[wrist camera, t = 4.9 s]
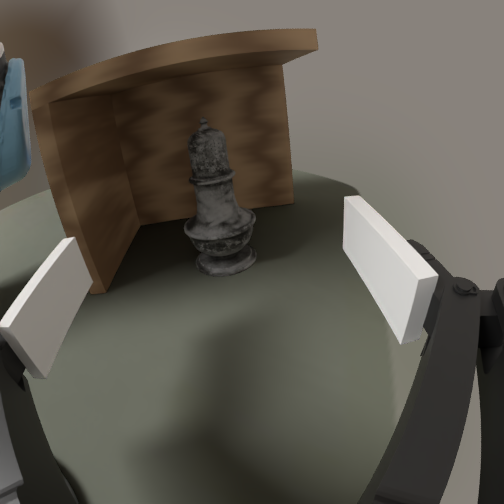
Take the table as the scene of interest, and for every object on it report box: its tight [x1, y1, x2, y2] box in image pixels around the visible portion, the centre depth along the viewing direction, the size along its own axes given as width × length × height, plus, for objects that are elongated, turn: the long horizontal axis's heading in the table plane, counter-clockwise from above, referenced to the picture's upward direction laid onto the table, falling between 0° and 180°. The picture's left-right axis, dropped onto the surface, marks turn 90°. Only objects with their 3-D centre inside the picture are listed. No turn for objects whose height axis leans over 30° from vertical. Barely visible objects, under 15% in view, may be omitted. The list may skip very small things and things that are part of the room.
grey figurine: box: [184, 117, 257, 276], centre depth 23 cm, size 6×6×12 cm
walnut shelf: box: [29, 29, 318, 294], centre depth 26 cm, size 20×15×18 cm
